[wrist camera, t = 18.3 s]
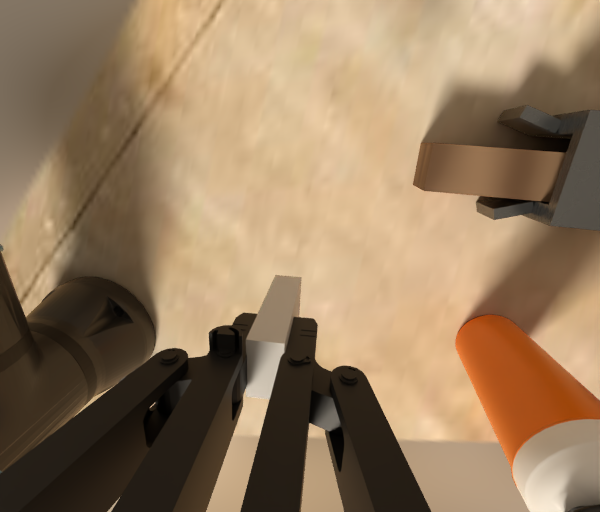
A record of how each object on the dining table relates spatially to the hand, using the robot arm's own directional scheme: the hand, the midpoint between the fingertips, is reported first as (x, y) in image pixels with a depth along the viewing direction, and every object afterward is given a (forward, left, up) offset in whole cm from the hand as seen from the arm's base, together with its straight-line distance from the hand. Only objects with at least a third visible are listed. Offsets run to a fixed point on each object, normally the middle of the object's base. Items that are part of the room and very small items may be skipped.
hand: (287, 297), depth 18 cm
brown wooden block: (+17, +8, -18) cm, 26 cm away
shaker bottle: (+21, -11, -18) cm, 30 cm away
